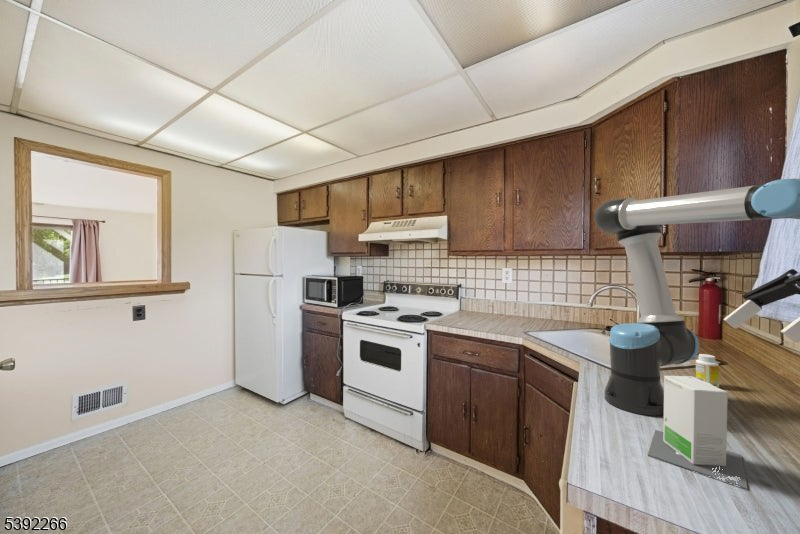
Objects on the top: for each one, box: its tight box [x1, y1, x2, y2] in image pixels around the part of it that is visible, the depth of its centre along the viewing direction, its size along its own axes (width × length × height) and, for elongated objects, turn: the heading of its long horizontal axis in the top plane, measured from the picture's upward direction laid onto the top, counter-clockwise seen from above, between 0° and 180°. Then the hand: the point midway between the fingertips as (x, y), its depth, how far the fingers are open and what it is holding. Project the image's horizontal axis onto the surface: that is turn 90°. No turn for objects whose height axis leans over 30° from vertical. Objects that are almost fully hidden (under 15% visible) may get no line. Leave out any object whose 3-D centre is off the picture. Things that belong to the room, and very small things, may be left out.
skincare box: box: [662, 375, 729, 466], centre depth 63 cm, size 8×7×16 cm
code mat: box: [647, 429, 749, 491], centre depth 63 cm, size 14×14×1 cm
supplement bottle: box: [695, 353, 720, 388], centre depth 101 cm, size 6×6×10 cm
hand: (755, 330), depth 61 cm, fingers open, 13 cm apart
